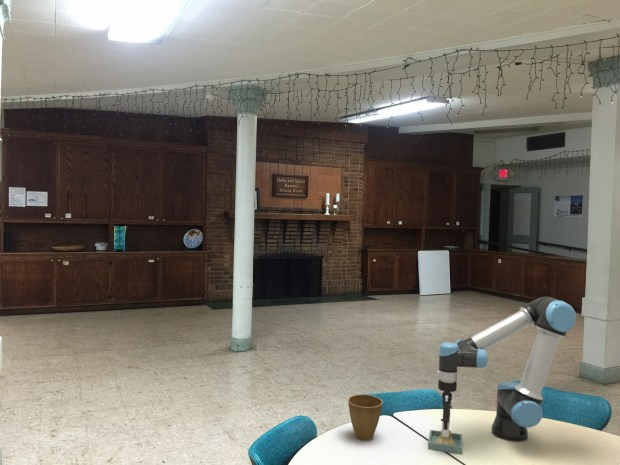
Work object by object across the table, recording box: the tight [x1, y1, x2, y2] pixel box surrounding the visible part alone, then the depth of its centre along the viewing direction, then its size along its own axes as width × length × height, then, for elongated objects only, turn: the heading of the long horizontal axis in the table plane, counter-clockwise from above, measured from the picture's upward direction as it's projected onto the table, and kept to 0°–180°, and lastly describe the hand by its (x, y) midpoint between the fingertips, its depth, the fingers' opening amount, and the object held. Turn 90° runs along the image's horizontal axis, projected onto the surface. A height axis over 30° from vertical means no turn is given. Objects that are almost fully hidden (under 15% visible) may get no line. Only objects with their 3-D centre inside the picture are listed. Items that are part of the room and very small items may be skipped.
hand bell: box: [436, 409, 456, 446], centre depth 216 cm, size 8×8×16 cm
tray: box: [427, 429, 463, 455], centre depth 216 cm, size 14×14×3 cm
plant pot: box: [347, 393, 384, 441], centre depth 222 cm, size 15×15×16 cm
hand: (445, 430), depth 216 cm, fingers open, 13 cm apart
